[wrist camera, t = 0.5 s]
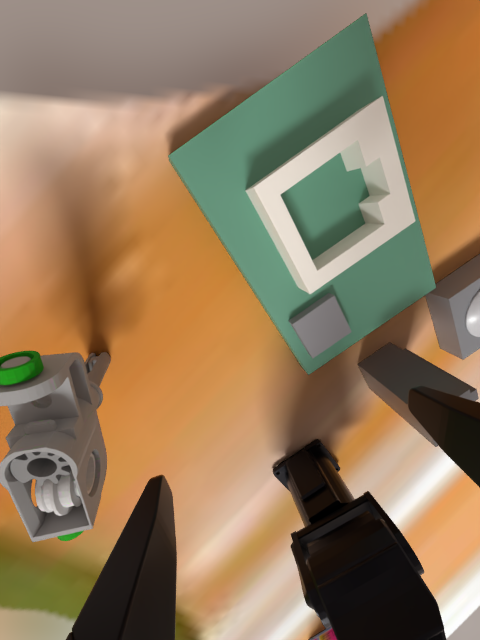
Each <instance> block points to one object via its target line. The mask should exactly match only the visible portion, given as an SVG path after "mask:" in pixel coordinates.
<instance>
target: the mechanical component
mask: <svg viewBox="0 0 480 640" xmlns="http://www.w3.org/2000/svg"><path fill="white" fill-rule="evenodd" d="M110 361H111V358H110V356H109V354H108V353H106V352H103V353H101V354H100V356H96V355H95V353H91V354H90V355H89V357H88V358H87V360H86V362H85V363H84V360H83V358H82V356H81V355H80V354H79V353H65V354H54V355H43V356H40V354H39V353H38V352H36V351H21V352H16V353H12V354H8V355H6V356H3V357H0V406H8V408H9V410H10V413H11V415H12V418H13V420H14V423H15V426H14V428H13V429H12V430H11V432H10V433H9V434H8V436H7V437H6V440H7V442H8V445H9V447H10V451H9V452H8V454H7V455H6V456H5V458H4V459H3V461H2V462H1V464H0V483H1V484H2V485H3V487H5V488H6V489H7V490H8V491H9V493H10V495H11V497H12V500H13V502H14V504H15V506H16V508H17V510H18V512H19V514H20V517H21V519H22V521H23V523H24V525H25V527H26V529H27V531H28V534H29V536H30V538H31V540H32V542H35V541H40V540H44V539H48V538H53V537H58V539H60V540H61V541H69V540H72V539H74V538H76V537H77V536H79V535H80V534H81V533H82V532H83V531H84V530H88V529H93V525H94V521H95V518H96V514H97V510H98V506H99V503H100V499H101V492H102V488H103V484H104V480H105V476H106V469H107V454H106V448H105V444H104V440H103V436H102V432H101V428H100V424H99V420H98V416H97V411H96V409H97V408H98V407H99V406H100V405H101V403H102V400H103V394H102V391H101V389H100V387H99V386H100V384H101V381H102V379H103V377H104V375H105V373H106V370H107V368H108V366H109V364H110ZM32 479H36V484H35V495H36V501H37V505H38V506H37V507H35V506H34V505H33V503H32V500H31V484H32Z"/></svg>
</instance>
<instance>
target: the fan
mask: <svg viewBox="0 0 480 640" xmlns="http://www.w3.org/2000/svg"><path fill="white" fill-rule="evenodd" d="M425 296H426V300H427V303H428V307H429V310H430V314H431V317H432V321H433V324H434V328H435V331H436V335H437V339H438V342H439V346H440V349H442V350H445V351H447V352H449V353H451V354H453V355H455V356H457V357H459V358H461V359H465V358H466V357H468V356H469V355H471V354H472V353H474V352H475V351H477V350H478V349H480V254H479V255H477V256H476V257H474V258H473V259H471V260H470V261H469V262H467V263H466V264H464V265H463V266H461V267H460V268H458V269H457V270H455V271H454V272H452V273H451V274H450V275H448V276H447V277H445V278H444V279H442V280H441V281H439V282H438V283H436V288H435V289H433V290H432V291H430V292H429V293H428V294H426V295H425Z"/></svg>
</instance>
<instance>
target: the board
mask: <svg viewBox="0 0 480 640" xmlns="http://www.w3.org/2000/svg"><path fill="white" fill-rule="evenodd" d="M169 161H170V163H171V165H172V166H173V168H174V169H175V171H176V172H177V174H178V175H179V177H180V179H181V180H182V182H183V183H184V185H185V186H186V188H187V189H188V191H189V193H190V194H191V196H192V197H193V199H194V200H195V202H196V203H197V205H198V207H199V208H200V210H201V211H202V213H203V214H204V216H205V217H206V219H207V221H208V222H209V224H210V225H211V227H212V228H213V230H214V231H215V233H216V235H217V236H218V238H219V239H220V241H221V242H222V244H223V245H224V247H225V249H226V250H227V252H228V253H229V255H230V256H231V258H232V259H233V261H234V263H235V264H236V266H237V267H238V269H239V270H240V272H241V273H242V275H243V277H244V278H245V280H246V281H247V283H248V284H249V286H250V287H251V289H252V291H253V292H254V294H255V295H256V297H257V298H258V300H259V301H260V303H261V305H262V306H263V308H264V309H265V311H266V312H267V314H268V315H269V317H270V319H271V320H272V322H273V323H274V325H275V326H276V328H277V329H278V331H279V333H280V334H281V336H282V337H283V339H284V340H285V342H286V343H287V345H288V347H289V348H290V350H291V351H292V353H293V354H294V356H295V357H296V359H297V361H298V362H299V364H300V365H301V367H302V368H303V369H304V370H305V371H306V373H307V374H308V375H309V374H311V373H312V372H314V371H315V370H317V369H318V368H320V367H321V366H322V365H324V364H325V363H327V362H328V361H330V360H331V359H333V358H334V357H336V356H337V355H338V354H340V353H341V352H343V351H344V350H346V349H347V348H349V347H350V346H352V345H353V344H355V343H356V342H357V341H359V340H360V339H362V338H363V337H365V336H366V335H368V334H369V333H371V332H372V331H374V330H375V329H376V328H378V327H379V326H381V325H382V324H384V323H385V322H387V321H388V320H390V319H391V318H393V317H394V316H395V315H397V314H398V313H400V312H401V311H403V310H404V309H406V308H407V307H409V306H410V305H412V304H413V303H414V302H416V301H417V300H419V299H420V298H422V297H423V296H425V295H426V294H428V293H429V292H430V291H432V290H433V289H435V288H436V284H435V280H434V277H433V273H432V269H431V265H430V261H429V257H428V253H427V249H426V245H425V241H424V237H423V233H422V229H421V226H420V222H419V218H418V214H417V210H416V206H415V202H414V198H413V194H412V190H411V186H410V182H409V178H408V174H407V171H406V167H405V163H404V159H403V155H402V151H401V147H400V143H399V139H398V135H397V131H396V127H395V123H394V120H393V116H392V112H391V108H390V104H389V100H388V96H387V92H386V88H385V84H384V80H383V76H382V72H381V69H380V65H379V61H378V57H377V53H376V49H375V45H374V41H373V37H372V33H371V29H370V25H369V21H368V18H367V14H364V15H363V16H361V17H360V18H359V19H357V20H356V21H354V22H353V23H352V24H350V25H349V26H348V27H346V28H345V29H343V30H342V31H341V32H339V33H338V34H336V35H335V36H334V37H332V38H331V39H330V40H328V41H327V42H325V43H324V44H323V45H321V46H320V47H318V48H317V49H316V50H314V51H313V52H312V53H310V54H309V55H307V56H306V57H305V58H303V59H302V60H300V61H299V62H298V63H296V64H295V65H293V66H292V67H291V68H289V69H288V70H287V71H285V72H284V73H282V74H281V75H280V76H278V77H277V78H275V79H274V80H273V81H271V82H270V83H268V84H267V85H266V86H264V87H263V88H262V89H260V90H259V91H257V92H256V93H255V94H253V95H252V96H250V97H249V98H248V99H246V100H245V101H244V102H242V103H241V104H239V105H238V106H237V107H235V108H234V109H232V110H231V111H230V112H228V113H227V114H225V115H224V116H223V117H221V118H220V119H219V120H217V121H216V122H214V123H213V124H212V125H210V126H209V127H207V128H206V129H205V130H203V131H202V132H201V133H199V134H198V135H196V136H195V137H194V138H192V139H191V140H189V141H188V142H187V143H185V144H184V145H182V146H181V147H180V148H178V149H177V150H176V151H174V152H173V153H171V154H170V155H169Z"/></svg>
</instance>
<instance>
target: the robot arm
mask: <svg viewBox="0 0 480 640" xmlns="http://www.w3.org/2000/svg"><path fill="white" fill-rule="evenodd" d="M408 408H409V411H410V412H411V414H412V415H413V416H414V417H415V418H416V419H417V421H418V422H419V423H420V424H421V425H422V427H423V428H424V429H425V430H426V431H427V432H428V434H429V435H430V436H431V437H432V438H433V440H434V441H435V442H436V443H437V444H438V445H439V447H440V448H441V449H442V450H443V451H444V452H445V453H446V454H447V455H448V456H449V457H450V458H451V459H452V460H453V461H454V462H455V463H456V464H457V465H458V466H459V467H460V468H461V469H462V470H463V471H464V472H465V473H466V474H467V475H468V476H469V477H470V478H471V479H472V480H473V481H474V482H475V483H476V484H477V485H478V486H479V487H480V403H479V402H476V401H472V400H469V399H466V398H462V397H459V396H455V395H452V394H449V393H445V392H442V391H439V390H435V389H432V388H429V387H425V386H421V385H420V386H416V387H413V388H411V389H410V390H409V394H408ZM339 470H340V467H339V466H338V464H337V463H336V461H335V460H334V459H333V457H332V456H331V455H330V453H329V452H328V450H327V449H326V448H325V446H324V445H323V444H322V442H321V441H320V440H315V441H314V442H312V443H311V444H309V445H308V446H306V447H305V448H303V449H302V450H301V451H299V452H298V453H296V454H295V455H293V456H292V457H290V458H289V459H287V460H286V461H284V462H283V463H281V464H280V465H278V466H277V467H275V468H274V469H273V474H274V476H275V477H276V478H277V479H278V480H279V481H280V482H281V483H282V484H283V485H284V486H285V487H286V488H287V489H288V490H289V491H290V492H291V494H292V497H293V499H294V502H295V504H296V506H297V509H298V511H299V514H300V516H301V518H302V521H303V523H304V526H305V528H303V529H301V530H299V531H297V532H296V531H295V532H293V533H291V537H292V540H293V543H292V544H291V549H292V552H293V555H294V558H295V561H296V564H297V567H298V571H299V576H300V580H301V585H302V589H303V594H304V598H305V601H306V603H307V605H308V606H309V607H310V608H312V609H314V610H315V612H316V614H317V615H318V617H320V619H321V621H322V623H323V625H324V627H325V628H326V629H327V628H329V627H331V626H332V629H333V631H334V634H335V636H336V639H337V640H446V636H445V632H444V626H443V622H442V619H441V615H440V611H439V607H438V604H437V602H436V600H435V598H434V597H433V595H432V593H431V592H430V590H429V589H428V587H427V586H426V584H425V583H424V581H423V579H422V578H421V576H420V575H421V574H423V573H424V570H423V567H422V565H421V563H420V561H419V560H418V558H417V556H416V555H415V553H414V551H413V550H412V548H411V546H410V545H409V543H408V542H407V540H406V539H405V537H404V536H403V535H402V533H401V532H400V530H399V529H398V528H397V527H396V525H395V524H394V523H393V521H392V520H391V519H390V518H389V516H388V515H387V514H386V513H385V511H384V510H383V509H382V508H381V506H380V505H379V504H378V503H377V501H376V500H375V499H374V497H373V496H372V495H371V494H370V492H369V491H367V492H365V493H363V494H364V495H362V496H360V497H359V498H357V499H354V497H353V496H352V494H351V493H350V491H349V489H348V488H347V486H346V485H345V483H344V482H343V480H342V478H341V477H340V475H339V474H338V471H339ZM176 567H177V552H176V536H175V522H174V508H173V496H172V492H171V489H170V487H169V485H168V483H167V481H166V478H165V477H164V475H159V476H156V477H153V478H151V479H150V480H149V481H148V483H147V485H146V487H145V489H144V491H143V493H142V495H141V497H140V499H139V501H138V502H137V504H136V506H135V508H134V510H133V512H132V514H131V516H130V518H129V520H128V522H127V524H126V525H125V527H124V529H123V531H122V533H121V535H120V537H119V539H118V541H117V543H116V545H115V547H114V549H113V550H112V552H111V554H110V556H109V558H108V560H107V562H106V564H105V566H104V568H103V570H102V572H101V574H100V575H99V577H98V579H97V581H96V583H95V585H94V587H93V589H92V591H91V593H90V595H89V597H88V598H87V600H86V602H85V604H84V606H83V608H82V610H81V612H80V614H79V616H78V618H77V620H76V622H75V623H74V625H73V628H72V632H71V633H69V635H68V637H67V639H66V640H175V609H176Z"/></svg>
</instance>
